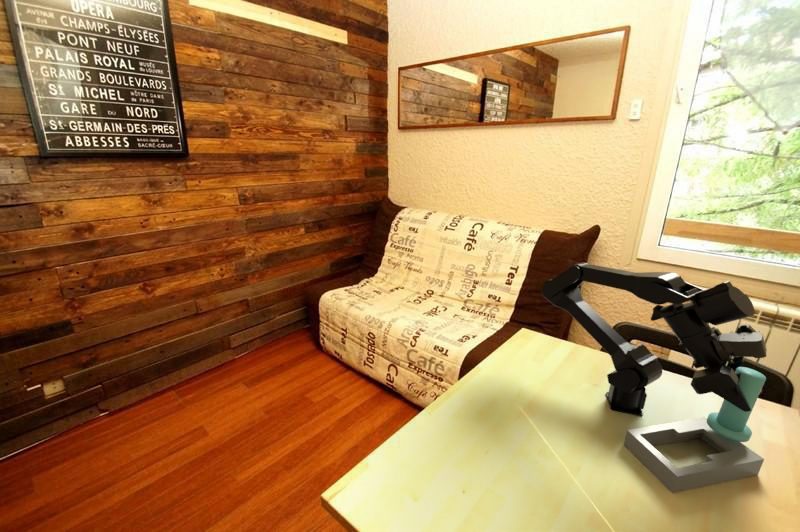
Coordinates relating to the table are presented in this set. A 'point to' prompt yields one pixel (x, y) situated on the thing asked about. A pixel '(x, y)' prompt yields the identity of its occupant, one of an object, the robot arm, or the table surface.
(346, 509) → the table surface
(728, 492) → the table surface
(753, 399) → the peg
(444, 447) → the table surface
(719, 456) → the keyhole plate
